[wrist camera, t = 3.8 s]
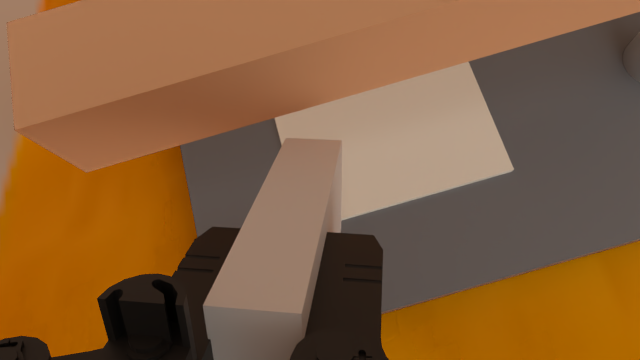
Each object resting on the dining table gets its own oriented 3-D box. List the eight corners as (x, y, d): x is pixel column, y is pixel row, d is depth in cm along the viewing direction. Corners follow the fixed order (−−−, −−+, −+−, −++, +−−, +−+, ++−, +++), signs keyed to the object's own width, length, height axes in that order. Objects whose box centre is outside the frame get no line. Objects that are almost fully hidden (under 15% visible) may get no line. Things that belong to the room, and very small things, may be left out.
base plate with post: (594, -46, 25) (706, -241, 17) (740, 212, 21) (992, 123, 12) (175, 77, 26) (77, -54, 17) (230, 356, 21) (135, 368, 13)
